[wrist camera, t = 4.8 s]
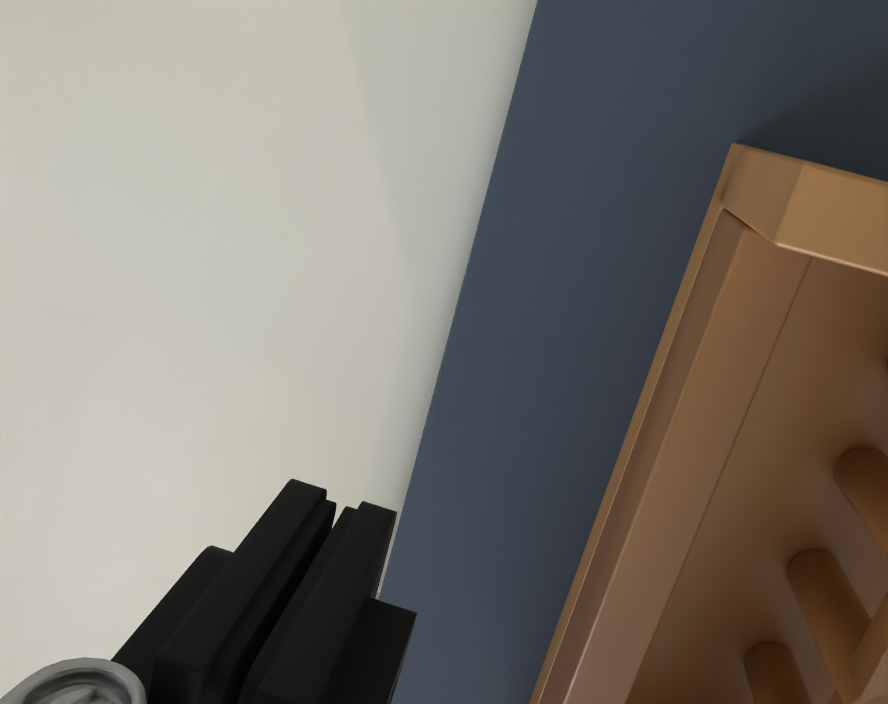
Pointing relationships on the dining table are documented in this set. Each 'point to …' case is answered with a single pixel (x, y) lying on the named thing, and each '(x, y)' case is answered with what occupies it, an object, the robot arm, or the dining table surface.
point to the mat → (595, 293)
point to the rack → (750, 466)
